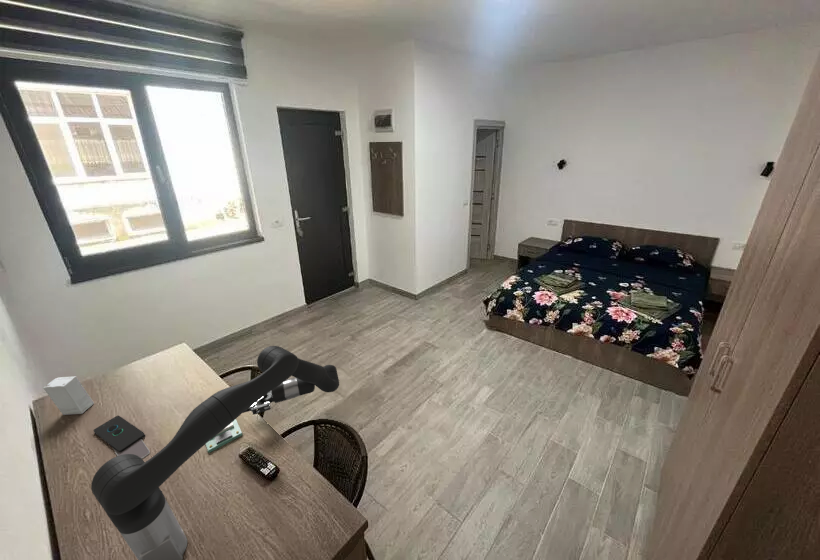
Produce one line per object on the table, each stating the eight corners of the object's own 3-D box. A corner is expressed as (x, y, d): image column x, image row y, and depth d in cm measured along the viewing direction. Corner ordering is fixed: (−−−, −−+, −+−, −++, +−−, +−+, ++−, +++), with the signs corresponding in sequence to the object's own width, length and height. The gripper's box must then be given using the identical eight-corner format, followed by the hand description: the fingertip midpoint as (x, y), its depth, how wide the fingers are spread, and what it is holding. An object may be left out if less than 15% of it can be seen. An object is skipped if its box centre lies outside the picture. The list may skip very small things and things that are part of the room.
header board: (242, 434, 117) (241, 430, 116) (208, 453, 110) (206, 448, 110) (230, 406, 129) (228, 402, 129) (199, 421, 123) (197, 417, 122)
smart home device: (118, 414, 126) (145, 433, 117) (120, 417, 126) (147, 436, 118) (91, 430, 119) (118, 451, 111) (93, 433, 120) (120, 454, 111)
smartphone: (136, 431, 119) (150, 452, 111) (137, 433, 120) (151, 454, 111) (111, 445, 114) (124, 468, 106) (112, 447, 114) (125, 470, 106)
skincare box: (94, 403, 133) (78, 375, 127) (81, 415, 128) (64, 386, 122) (74, 404, 133) (57, 376, 127) (60, 415, 128) (41, 387, 122)
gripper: (284, 370, 129) (239, 381, 124) (284, 395, 116) (235, 408, 111) (287, 385, 132) (244, 396, 127) (288, 410, 120) (241, 424, 115)
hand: (240, 402), depth 119 cm, fingers open, 8 cm apart
